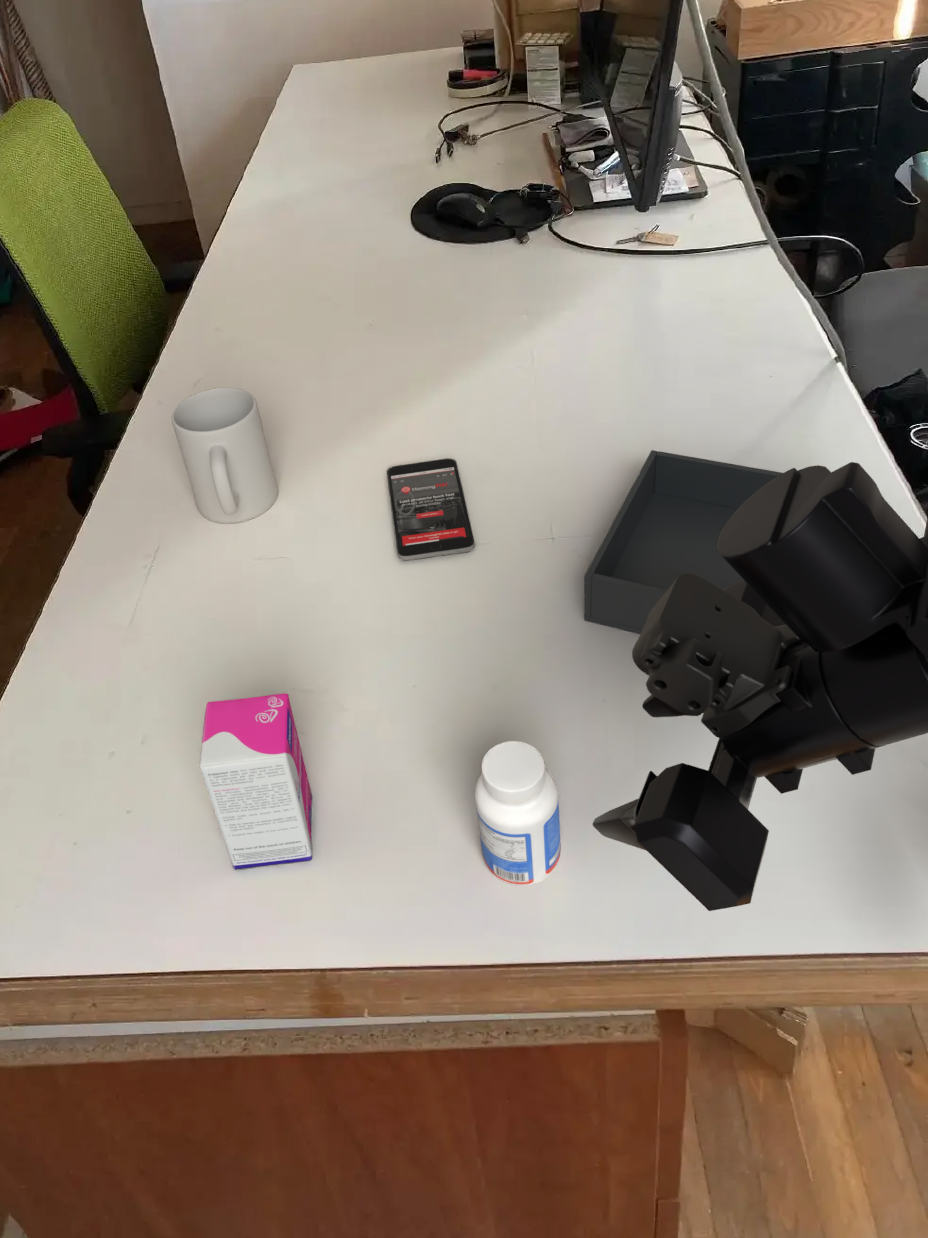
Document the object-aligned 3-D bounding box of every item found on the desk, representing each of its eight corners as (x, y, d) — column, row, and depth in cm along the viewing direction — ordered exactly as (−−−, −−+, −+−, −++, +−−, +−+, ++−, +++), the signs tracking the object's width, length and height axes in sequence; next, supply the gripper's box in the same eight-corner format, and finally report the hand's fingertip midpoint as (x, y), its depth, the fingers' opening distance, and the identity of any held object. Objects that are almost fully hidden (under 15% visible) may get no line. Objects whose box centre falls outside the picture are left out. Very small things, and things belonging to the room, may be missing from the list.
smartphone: (397, 557, 95) (386, 466, 106) (398, 563, 95) (386, 472, 107) (475, 546, 95) (455, 457, 106) (476, 552, 95) (455, 462, 107)
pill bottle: (534, 809, 73) (530, 718, 67) (576, 866, 69) (575, 775, 63) (467, 842, 71) (456, 752, 65) (505, 902, 67) (498, 813, 61)
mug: (198, 482, 109) (172, 394, 102) (277, 469, 109) (256, 380, 102) (195, 552, 100) (166, 460, 93) (281, 537, 100) (259, 444, 93)
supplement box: (316, 861, 71) (286, 756, 64) (232, 872, 71) (192, 768, 64) (316, 794, 76) (288, 689, 69) (237, 804, 76) (200, 700, 69)
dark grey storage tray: (858, 532, 92) (868, 487, 89) (819, 679, 79) (829, 632, 76) (649, 492, 100) (651, 449, 96) (584, 620, 87) (584, 575, 84)
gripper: (789, 456, 53) (583, 571, 64) (694, 713, 40) (461, 798, 52) (922, 604, 54) (700, 689, 66) (871, 893, 42) (608, 936, 54)
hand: (624, 766), depth 59 cm, fingers open, 9 cm apart
